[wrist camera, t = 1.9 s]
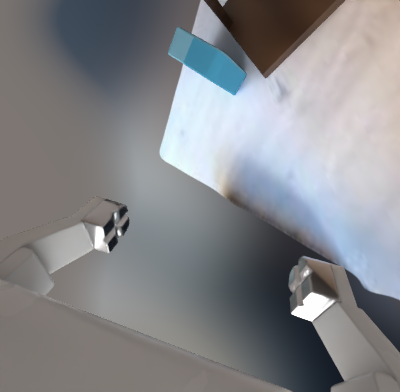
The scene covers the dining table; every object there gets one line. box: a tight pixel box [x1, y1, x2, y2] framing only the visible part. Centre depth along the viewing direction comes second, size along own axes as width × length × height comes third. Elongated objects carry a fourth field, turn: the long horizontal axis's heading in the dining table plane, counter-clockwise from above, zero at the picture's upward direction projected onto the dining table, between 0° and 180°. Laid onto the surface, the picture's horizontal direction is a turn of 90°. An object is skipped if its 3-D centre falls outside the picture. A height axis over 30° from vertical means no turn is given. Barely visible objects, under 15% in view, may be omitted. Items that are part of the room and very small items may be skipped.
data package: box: [168, 27, 247, 95], centre depth 40 cm, size 12×4×12 cm, turn 57°
